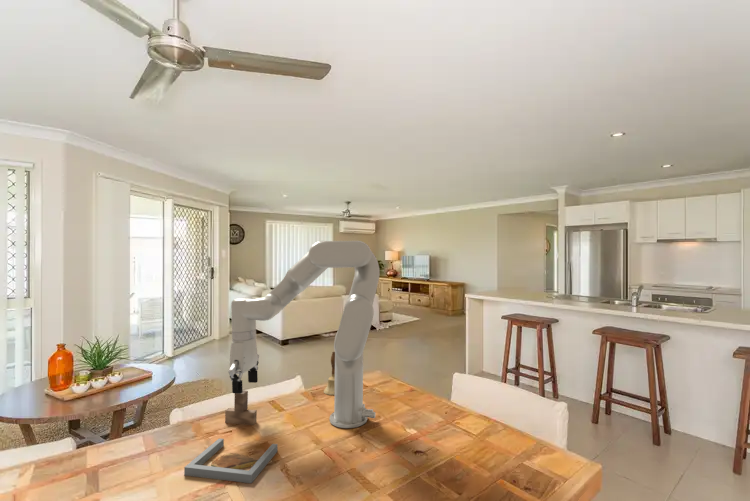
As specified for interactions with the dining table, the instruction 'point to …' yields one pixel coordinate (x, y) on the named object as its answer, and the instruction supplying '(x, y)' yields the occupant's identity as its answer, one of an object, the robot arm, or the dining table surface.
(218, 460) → the shard
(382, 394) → the dining table surface
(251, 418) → the brown wooden block
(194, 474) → the frame
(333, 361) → the hand bell
